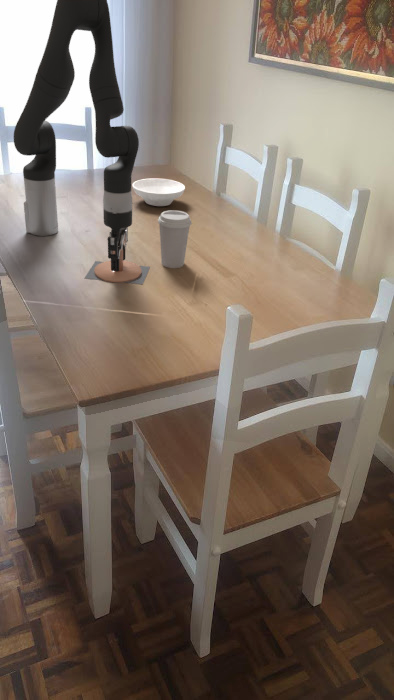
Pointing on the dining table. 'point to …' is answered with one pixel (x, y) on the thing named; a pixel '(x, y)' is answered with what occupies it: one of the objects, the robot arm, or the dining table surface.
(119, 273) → the lid
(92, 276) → the mat
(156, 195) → the bowl
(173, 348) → the dining table surface
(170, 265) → the coffee cup
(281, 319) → the dining table surface
